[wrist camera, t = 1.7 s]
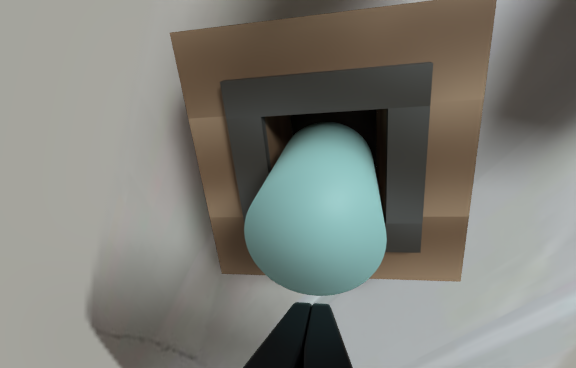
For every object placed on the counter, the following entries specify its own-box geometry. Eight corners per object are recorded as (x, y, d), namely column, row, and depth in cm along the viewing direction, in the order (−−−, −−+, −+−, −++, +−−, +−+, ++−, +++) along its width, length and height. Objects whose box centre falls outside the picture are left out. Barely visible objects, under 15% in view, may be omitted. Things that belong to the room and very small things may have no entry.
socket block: (432, 218, 21) (464, 290, 15) (251, 219, 23) (217, 280, 18) (449, 7, 16) (505, -10, 10) (221, 33, 19) (162, 32, 13)
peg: (373, 207, 15) (385, 298, 10) (286, 207, 16) (254, 292, 10) (373, 118, 13) (387, 171, 8) (277, 124, 14) (233, 175, 9)
